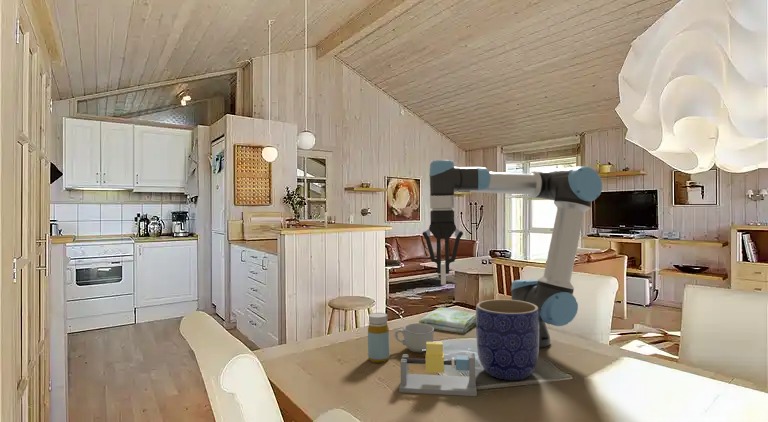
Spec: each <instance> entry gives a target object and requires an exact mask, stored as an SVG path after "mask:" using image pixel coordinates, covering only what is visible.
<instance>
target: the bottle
mask: <svg viewBox="0 0 768 422" xmlns="http://www.w3.org/2000/svg"><path fill="white" fill-rule="evenodd" d="M389 329H390V328H389V326H388V313H384V312H372V313H370V314H368V327H367V349H368V350H367V352H368V353H367V354H368V355H367V356H368V360H369V361H370V362H372V363H377V364H380V363H381V364H382V363H385V362H387V361H388V360H389V359H390V330H389Z"/></svg>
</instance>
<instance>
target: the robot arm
mask: <svg viewBox="0 0 768 422" xmlns="http://www.w3.org/2000/svg"><path fill="white" fill-rule="evenodd" d="M429 188H430V189H429V194H430V195H429V204H430V207H429V208H430V209H431V210H430V212H429V213H430V217H429V219H430V224H429V226H428V229H426V230H424V231H422V234H421V235H422V236H423V238H424V239H425V241H426V244H427V245H426V246H427V251H428V252H429V256H430V257H429V258H430V261H431V262H432V263H436V272H437V274H439V275H440V285H441V286H442V285H443V286H446V285H447V275H449V274H450V263H454V262H455V261H456V257H457V252H458V248H459V244H460V239H461V238H462V236H463V234H464V233H463V230H460V229H458V228H457V226H456V224H455V210H453V209H454V208H455V193H456V192H457V193H458V192H459V193H461V192H462V193H481V194H482V193H483V194H484V193H488V194H505V195H506V194H508V195H509V194H510V195H526V196H527V195H528V196H529V197H530V198H533V199H535V198H536V199H537V198H538V199H545V200H551V201H554V202H553V204H554V205H555V207H556V209H557V210H556V215H555V219H554V223H553V228H552V233H551V239H550V244H549V247H548V248H549V249H548V252H547V253H548V254H547V259H546V263H545V266H544V267H545V268H544V272H543V276H542V277H540V278H539V279H537V278H530V279H529V278H527V279H525V278H524V279H516V280H513V281H511V288H510V292H511V294H510V295H511V300H518V301H524V302H529V303H532V304H534V305H536V306H537V307H538V308H539V349H540V348H546V347H549V346H550V345H551V335H550V333H549V329H548V327H547V325H552V326H555V327H563V326H566V325H568V324H569V323H571V322H572V321H573V320H574V319H575V318H576V316H577V315H578V314H577V313H578V309H579V303H578V301H577V298H576V297H575V296H574V291H575V290H574V289H575V287H574V286H573V284H572V282H571V281H572V280H571V279H572V275H573V270H574V265H575V260H576V256H577V250H578V245H579V241H580V236H581V231H582V225H583V221H584V217H585V216H584V215H585V213H586V212H588V211H590V210H591V206H592V202H593V201H595V200H597V198H599V197H600V195H601V194H602V190H603V182H602V178H601V175H599V173H598V172H597V170H595V169H594V168H592V167H590V166H585V165H584V166H581V165H577V166H573V167H572V166H571V167H565V168H564V167H563V168H556V169H551V170H545V171H544V170H543V171H531V172H530V173H519V172H518V173H517V172H516V173H515V172H502V171H500V172H498V171H497V172H496V171H489V169H488V168H487V167H482V166H460V167H459V166H455V164H454V161H453V160H451V159H440V160H437V159H436V160H432V161H431V163H430V165H429ZM454 233H455V234H454ZM431 234H432V236H433V237H434V238H435V239H436V256H435V253H434V248H433V244H432V239H431ZM453 234H454V235H455V241H454V244H453V249H452V253H451V257H450V238H452V236H453ZM442 240H444V257H445V259H444V260H445V261H444V262H442V250H441V249H442V246H441V245H442Z"/></svg>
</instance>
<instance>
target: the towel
mask: <svg viewBox="0 0 768 422" xmlns="http://www.w3.org/2000/svg"><path fill="white" fill-rule="evenodd" d="M418 323H421V324H427V325H430V326H432V327H433V328H434V330H439V331H445V332H453V333H458V334H459V333H460V334H464V333H467V332H468V331H469V330H470V329H471V328H473V327H474V326H476V312H467V311H463V310H458V309H454V308H448V307H438V308H436V309H434V310H433V311H431V312H429V313H428V314H426V315H425V316H424V317H422V318H421V319H420V320H419V321H418Z"/></svg>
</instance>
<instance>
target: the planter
mask: <svg viewBox="0 0 768 422" xmlns="http://www.w3.org/2000/svg"><path fill="white" fill-rule="evenodd" d="M475 305H476V306H475V314H476V324H475V331H476V333H475V334H476V337H475V339H476V349H477V356H478V361H479V363H480V365H481V367H482V369H483V370H484V371H485V372H486V374H488V375H489V376H491V377H493V378H495V377H496V378H495V379H498V378H499V380H502V379H504V380H503V381H519V380H524V379H527V378H529V377H530V376H531V375H532V374H533V372H534V371H535V369H536V368H537V365H538V361H539V355H540V354H539V353H540V348H539V308H538V307H537V306H536V305H534V304H532V303H529V302H524V301H518V300H512V299H507V298H506V299H505V298H504V299H501V298H499V299H488V300H483V301H479V302H477V304H475Z"/></svg>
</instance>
